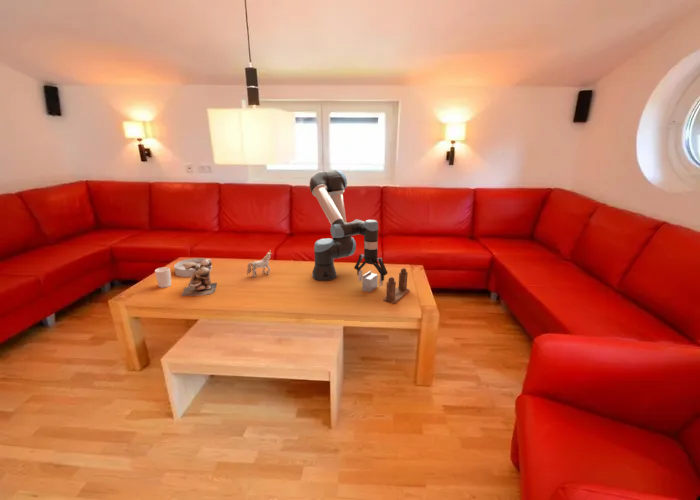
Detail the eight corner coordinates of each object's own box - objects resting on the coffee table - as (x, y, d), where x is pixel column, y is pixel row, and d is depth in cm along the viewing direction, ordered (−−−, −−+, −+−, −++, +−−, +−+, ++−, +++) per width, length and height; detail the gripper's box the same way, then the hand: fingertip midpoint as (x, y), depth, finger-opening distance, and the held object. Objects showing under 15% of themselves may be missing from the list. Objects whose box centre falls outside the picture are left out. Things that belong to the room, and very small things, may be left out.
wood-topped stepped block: (362, 290, 205) (362, 275, 202) (369, 285, 212) (370, 270, 209) (369, 292, 202) (370, 277, 200) (377, 287, 210) (377, 272, 207)
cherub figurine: (179, 297, 195) (175, 266, 189) (186, 284, 212) (182, 255, 206) (214, 294, 199) (210, 264, 193) (218, 282, 215) (214, 253, 210)
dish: (217, 271, 233) (216, 264, 231) (182, 280, 218) (181, 272, 217) (203, 262, 248) (202, 255, 246) (170, 270, 233) (168, 263, 232)
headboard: (383, 300, 193) (384, 277, 189) (398, 288, 208) (399, 266, 204) (395, 303, 189) (396, 279, 185) (409, 290, 205) (410, 268, 200)
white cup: (167, 281, 215) (164, 266, 212) (175, 284, 211) (172, 268, 208) (154, 286, 209) (151, 270, 206) (162, 289, 205) (160, 273, 202)
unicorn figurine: (278, 271, 232) (277, 252, 228) (252, 280, 218) (250, 259, 214) (272, 268, 236) (270, 249, 232) (246, 277, 223) (244, 256, 218)
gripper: (348, 246, 203) (348, 281, 209) (388, 253, 190) (387, 290, 196) (355, 243, 209) (355, 277, 215) (394, 249, 196) (393, 285, 203)
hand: (370, 283), depth 206 cm, fingers open, 13 cm apart
